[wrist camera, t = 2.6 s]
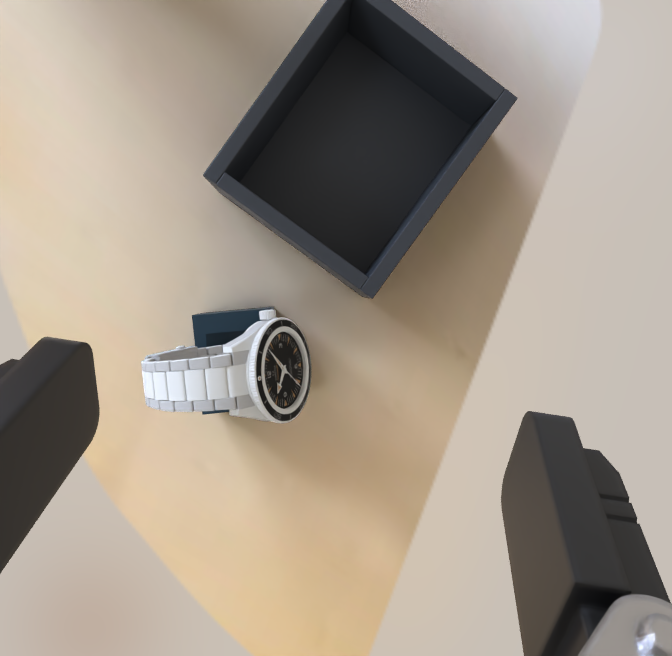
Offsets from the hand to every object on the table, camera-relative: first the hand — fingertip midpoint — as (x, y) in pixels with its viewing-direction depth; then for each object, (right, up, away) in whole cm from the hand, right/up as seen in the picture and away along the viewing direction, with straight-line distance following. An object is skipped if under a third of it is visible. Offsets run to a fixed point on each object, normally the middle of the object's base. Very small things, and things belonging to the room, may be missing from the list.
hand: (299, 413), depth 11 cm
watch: (-5, 0, +26) cm, 27 cm away
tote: (+2, +12, +25) cm, 28 cm away
